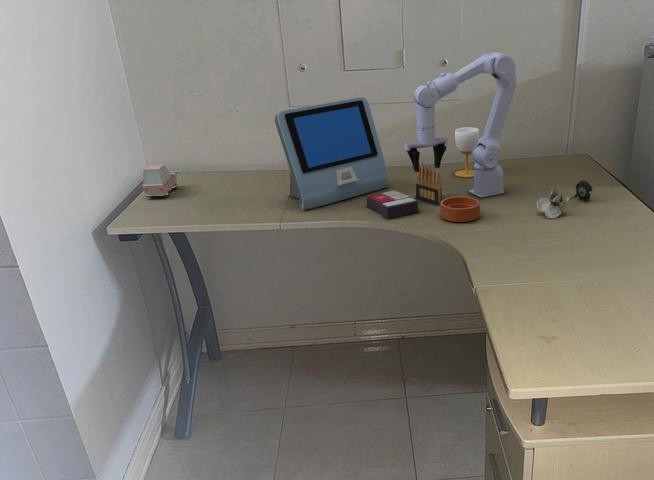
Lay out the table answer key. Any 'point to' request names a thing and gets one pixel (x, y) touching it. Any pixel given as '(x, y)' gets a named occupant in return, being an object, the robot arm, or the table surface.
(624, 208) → the table surface
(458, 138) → the cup
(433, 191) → the ammunition clip
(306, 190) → the touchscreen device
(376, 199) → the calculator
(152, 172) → the toy car
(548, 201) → the artificial flower
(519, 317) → the table surface
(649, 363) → the table surface
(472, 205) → the bowl
